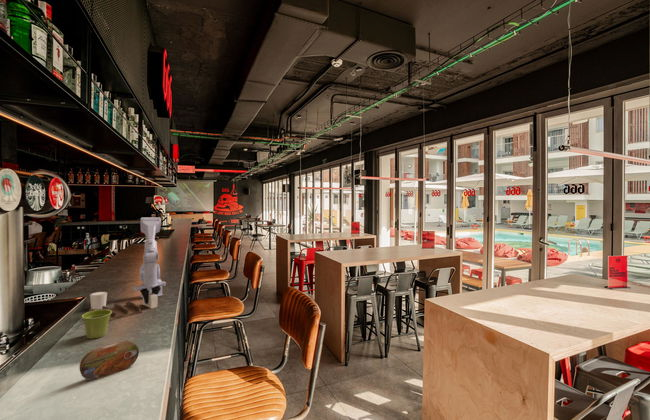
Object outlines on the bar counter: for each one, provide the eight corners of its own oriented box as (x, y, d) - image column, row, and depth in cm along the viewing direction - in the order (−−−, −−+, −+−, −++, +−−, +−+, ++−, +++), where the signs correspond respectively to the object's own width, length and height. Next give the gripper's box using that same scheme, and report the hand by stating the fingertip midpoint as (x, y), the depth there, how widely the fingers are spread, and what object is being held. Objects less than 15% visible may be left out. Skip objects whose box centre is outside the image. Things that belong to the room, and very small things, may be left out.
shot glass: (97, 310, 145) (97, 296, 145) (86, 309, 146) (86, 294, 146) (110, 305, 152) (110, 292, 152) (99, 304, 153) (99, 290, 153)
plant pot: (117, 332, 121) (117, 311, 121) (92, 342, 112) (92, 319, 112) (100, 329, 124) (101, 308, 124) (75, 338, 116) (75, 316, 115)
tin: (80, 385, 87) (80, 356, 87) (78, 380, 89) (78, 352, 89) (139, 364, 98) (139, 339, 98) (135, 361, 100) (136, 336, 100)
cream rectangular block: (148, 303, 158) (149, 291, 157) (157, 306, 152) (157, 295, 152) (142, 304, 155) (143, 292, 155) (151, 308, 150) (151, 296, 150)
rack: (128, 306, 152) (128, 300, 152) (141, 312, 144) (141, 306, 144) (87, 315, 138) (87, 309, 138) (99, 323, 130) (99, 316, 130)
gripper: (138, 279, 145) (138, 307, 145) (168, 274, 157) (168, 300, 157) (132, 277, 149) (131, 304, 150) (162, 272, 161) (161, 297, 161)
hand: (150, 302), depth 154 cm, fingers closed on cream rectangular block, 3 cm apart
